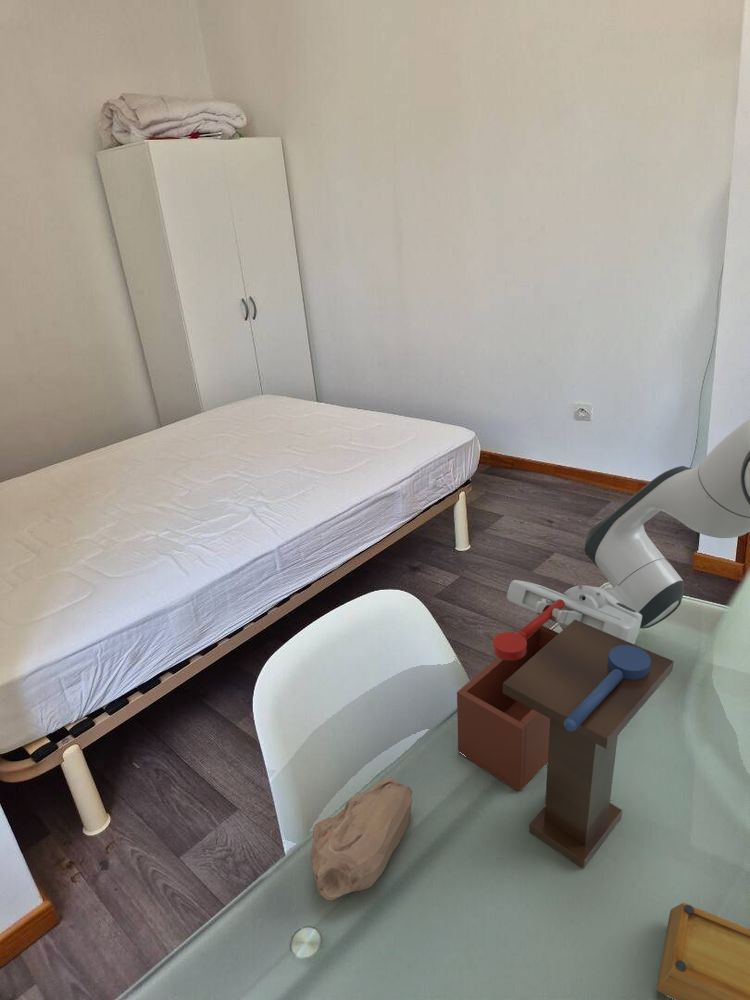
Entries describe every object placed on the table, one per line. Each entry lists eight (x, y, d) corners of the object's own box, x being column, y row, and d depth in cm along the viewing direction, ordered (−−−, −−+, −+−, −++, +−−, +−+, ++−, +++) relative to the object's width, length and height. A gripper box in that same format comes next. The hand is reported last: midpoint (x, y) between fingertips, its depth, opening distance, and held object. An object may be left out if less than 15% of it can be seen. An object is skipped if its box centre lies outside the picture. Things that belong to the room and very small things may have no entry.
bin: (535, 680, 117) (537, 623, 112) (594, 711, 110) (600, 651, 104) (457, 753, 104) (456, 691, 99) (519, 792, 97) (521, 728, 91)
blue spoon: (586, 744, 70) (587, 733, 70) (547, 722, 73) (548, 712, 73) (656, 665, 80) (657, 655, 80) (619, 649, 83) (620, 639, 83)
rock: (367, 870, 77) (291, 830, 80) (353, 935, 80) (280, 894, 83) (423, 777, 93) (358, 748, 97) (410, 834, 96) (347, 804, 100)
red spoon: (548, 600, 105) (549, 592, 104) (576, 611, 102) (576, 603, 101) (486, 651, 95) (486, 643, 94) (514, 665, 92) (514, 656, 91)
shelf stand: (564, 764, 101) (574, 619, 89) (650, 814, 92) (674, 661, 81) (499, 836, 91) (502, 683, 79) (589, 899, 82) (607, 738, 71)
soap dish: (674, 888, 78) (669, 916, 80) (659, 969, 70) (653, 998, 72) (802, 940, 72) (792, 968, 74) (800, 1034, 64) (789, 1063, 66)
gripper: (536, 573, 117) (495, 567, 107) (653, 618, 104) (619, 617, 94) (525, 607, 118) (483, 606, 107) (639, 657, 105) (604, 661, 94)
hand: (547, 612), depth 100 cm, fingers closed on red spoon, 1 cm apart
